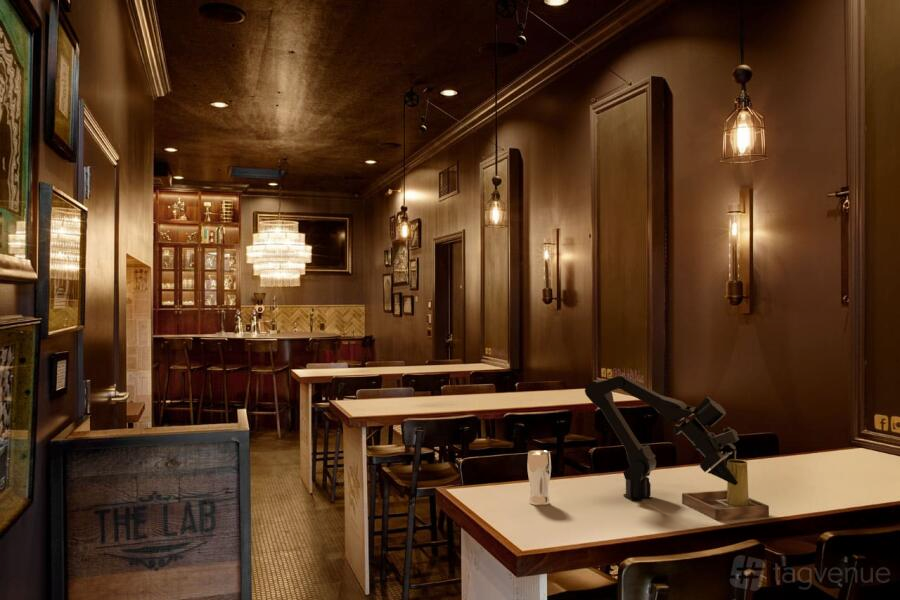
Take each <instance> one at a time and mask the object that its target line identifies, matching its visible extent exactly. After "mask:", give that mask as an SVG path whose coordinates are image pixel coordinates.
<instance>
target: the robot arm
mask: <svg viewBox="0 0 900 600" xmlns="http://www.w3.org/2000/svg"><path fill="white" fill-rule="evenodd" d="M618 389H619V390H622V391H623V392H625V393H626V394H629V395H631V396H632V397H634V398H635V399H638V400H640V401H641V402H643V403H645V404H647V405H649V406H651V407H652V408H653V409H654V410H656V412H657V413H658V414H659V415H660V416H662V417H663V418H664V419H665V420H667V421H668V422H670V423H677V422H680V421H682V420H683V421H682V422H681V423H680V424H675V425H674V426H673V427H674V432H673V433H674V436H677V435H679V434H681V433H682V434H683V436H685V437H686V438H687V440H689V441H690V443H691V444H692V445H693V447H692V449H694V450H695V451H696V450H697V451H699V452H700V453H701V455H702V456H703V459H702V460H701V461H700V462H699V468H700V469H701V470H702V471H703V472H704V473H706V472H707V474H709V475H713V476H715V477H717V478H719V479H721V480H724V481H725V482H729V483H731V484H733V485H736V484H738V482H737V480H736V479H735V477H734V476H733V474H732V473H731V472H730V470H729V469H728V468H727V461H728V460H730V459H737V450H736V449H737V447H736V446H735V445H734V443H738V441H740V438H739V436H738V431H736V430H735V429H733V428H731V427H730V426H728V427H726V428H723V430H722V431H723V433H719V434H717V435H716V434H715V432H712V431H711V432H709V431H708V429H706V428H705V427H707V426H708V427H713V426H714V425H715V424H716V423H718V422H719V421H720V420H721V419H722V418H723V417H725V416H726V415H727V413H726V412H727V411H726V410H725V408H724V407H723V406H722V405H721V404H720V403H718V402H716V401H715V400H713V399H711V397H710V396H706V397H705V398H704V399H703V401H702V402H701V403H700V404H698V405H697V406H696V407H695V406H691V405H687V404H686V403H685V402H683V401H682V400H678V399H675V398H673V397H669V396H665V395H662V394H660V393H657V392H656V391H654V390H652V389H650V388H648V387H646V386H645V385H642V384H641V383H640V382H637V381H635V380H633V379H632V378H630V377H629V376H628V375H625V374H619V375H616V376H615V377H612V378H609V379H605V380H603V379H596V380H592V381H591V380H590V381H588V383H586V385H585V387H584V394H585V396H586V397H587V398H588V399H589V400H590V401H591V402H592V404H593V405H594V406H596V407H597V408H598V409H600V410H601V412H602V414H603V415H604V416H605V418H606V420H607V422H608V423H609V424H610V426H611V428H612V430H613V432H614V433H615V435H616V437H617V438H618V439H619V441H620V442H621V444H622V446H623V448H624V449H625V451H626V452H625V453H626V457H627V461H628V464H629V467H628V468H626V470H624V471H623V473H622V474H623V476H624V479H625V493H623V496H624V497H625V498H627V499H628V500H630V501H633V502H635V501H636V502H637V501H638V502H639V501H643V500H652V499H653V498H652V497H651V495H652V494H651V490H652V489H651V485H652V484H651V482H650V478H649V477H650V475H651V472H652V471H653V470H655V468H656V467H657V460H656V458H655V457H657V455H655V454H654V453H653V451H652V449H651V447H650V445H649V444H647V445H643V444H642V443H640V442H639V439H637V437H636V436H635V434H634V432H633V431H632V429H631V428H630V426H629V424H628V423H627V421H626V420H625V418H624V416H623V415H622V413H621V412H620V409H618V407H617V405H616V403H615V402H614V396H613V392H614V391H617V390H618ZM612 391H613V392H612ZM689 417H692V418H691V419H687V418H689ZM685 418H686V419H685ZM709 469H710V470H709ZM708 470H709V471H708Z"/></svg>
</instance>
